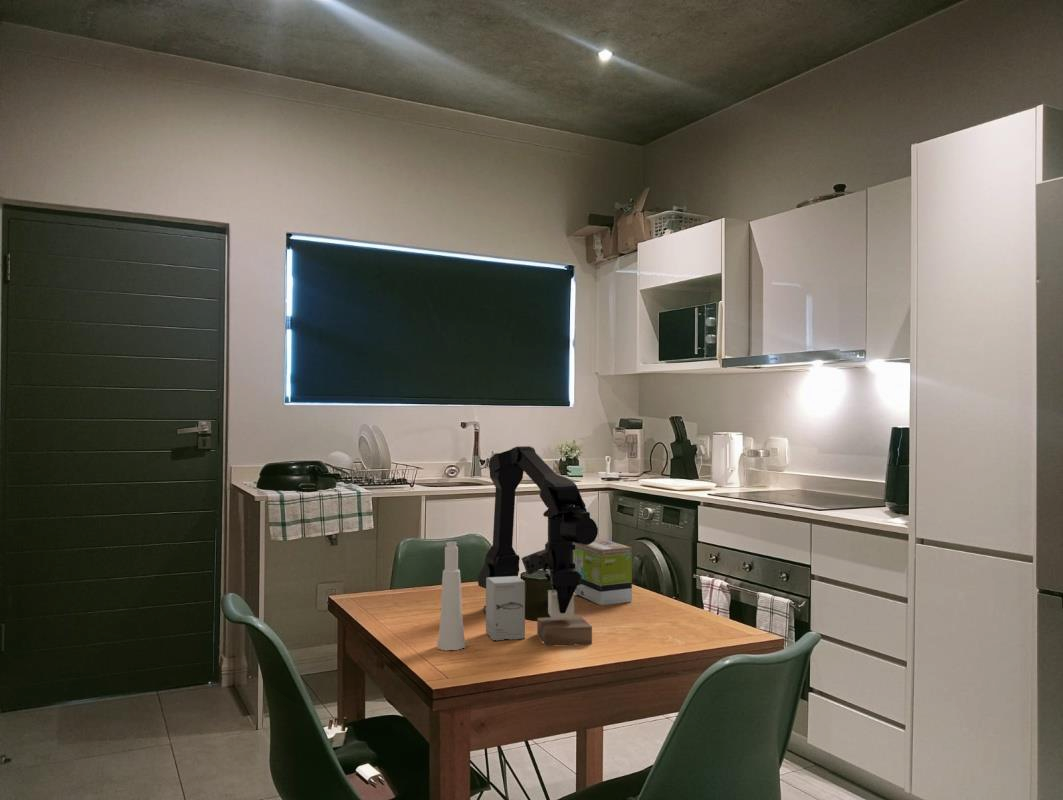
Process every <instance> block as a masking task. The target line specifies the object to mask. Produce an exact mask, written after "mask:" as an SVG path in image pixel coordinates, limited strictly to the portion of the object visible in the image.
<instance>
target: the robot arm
mask: <svg viewBox="0 0 1063 800" xmlns="http://www.w3.org/2000/svg"><path fill="white" fill-rule="evenodd" d="M488 468H489V477H490V480H491V482H492V483H493V485H494V487H495V493H494V494H495V495H494V510H493V511H494V515H493V532H492V534H493V535H492V545H491V547H490V549H489V550H488V551H487V552H486V555H485V557H484V558H485V559H484V565H483V567H482V569H480V570H481V571H480V572H479V574H478V576H477V584H478V587H480V588H483V589H485V590H486V578H487V577H510V576H518V577H519V575H520V574H519V573H520V559H521V561H522V563H523V566H524V570H525V572H526V573H527V575H533V574H535V573H536V572H538V571H540V570H541V571H542V572H545V573H544V577H545V578H546V579H547V580H548V581H549V583H550V585H551V588H552V590H556V592H557V598H558V604H559V610H560V613H565V612H566V610H567V608H568V605H569V603H570V600H571V598H572V596H573V594H574V595H575V593H574V592H575V589H576V587H577V586H578V585H581V584H582V577H581V575H580V573H579V572H578V571H577V570H576V569H575V563H574V550H575V544H574V542H575V543H579V544H583V545H589V544H591V543H592V542H594V540H597V537H598V534H599V533H598V532H599V528H598V526H597V523H596V522H595V520H594V519H592V518H591V513H590V511H587V508H586V503H585V502H584V499H583V497H582V495H581V493H580V491H579V488H578V486H577V484H576V483H575V482H574V481H573V480H571V479H569V478H568V477H565V476H563V475H560V474H558V473H556V472H555V471H554V470H553V469H552V468H551V467H550V466H549V465H548V464H547V463H546V461H544V459H542V458H541V457H540V455H538V453H536V449H535V448H534V447H533V446H530V445H527V446H526V445H524V446H522V445H521V446H515V447H512V448H510V449H509V450H505V451H502V452H497V453H493V455H492V456H491V457H490V458H489V460H488ZM524 473H525V474H526V475H527V476H528V477H529V478H530V479H531V481H532V482H533V483H534V485H536V486H537V488H539V491H540V492H539V497H540V499H541V501H542V502H543V503H544V505H545V507H546V508H547V509H546V510H545V511H544V512H543V514H542V515H543V517H545V518H547V541H546V543H545V544H544V549H542V550H539V551H536V552H533V553H531V554H527V555H524V556H523V557H522V558H520V555H519V554H517V553H516V551H515V549H514V548H513V541H514V539H513V538H514V524H515V523H514V521H515V506H516V504H515V503H516V489H517V488H518V487H519V485H520V483H521V482H522V480H523V477H524ZM546 572H547V573H546ZM483 610H484V613H485V614H486V605H483Z"/></svg>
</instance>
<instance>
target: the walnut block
mask: <svg viewBox="0 0 1063 800" xmlns="http://www.w3.org/2000/svg"><path fill="white" fill-rule="evenodd" d="M536 627H537V628H536V631H537V632H536V634H538V635H537V636H538V638H539V639H540V638H541V639H540V641H543V642H544V643H543V642H542V643H543V645H546V646H547V647H555V646H554V645H567V646H575V645H574V644H587V645H593V627H592V626H591V625H590V623H589V622H588V621H586V619H585V618H584V617H582V616H581V615H574V617H572V618H551V617H550V616H549V617H536ZM546 646H545V647H546Z"/></svg>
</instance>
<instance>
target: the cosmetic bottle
mask: <svg viewBox="0 0 1063 800" xmlns="http://www.w3.org/2000/svg"><path fill="white" fill-rule="evenodd" d="M445 545H446V546H445V547H444V569H443V570H442V580H441V581H442V582H441V599H440V603H441V604H440V621H439V631H438V638H437V645H436V648H437V649H438V648H439V649H442V650H441V651H443V650H457V651H460V650H459V649H461V650H463V649H462V648H464V649H465V648H466V640H465V632H464V622H463V607H462V604H463V603H462V584H461V582H462V581H461V570H460V569H459V547H458V546H457V545H458V544H457V541H447V542H445ZM439 649H438V650H439Z"/></svg>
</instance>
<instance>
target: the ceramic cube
mask: <svg viewBox="0 0 1063 800" xmlns="http://www.w3.org/2000/svg"><path fill="white" fill-rule="evenodd" d="M547 613H548V615H549V617H551V618H572V617H574V616H575V593H574V594H573V596H572V598H571V600H570V603H569V605H568V608H567V610H566V612H565V613H560V610H559V604H558V598H557V592H556V590H553V589H548V590H547Z"/></svg>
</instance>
